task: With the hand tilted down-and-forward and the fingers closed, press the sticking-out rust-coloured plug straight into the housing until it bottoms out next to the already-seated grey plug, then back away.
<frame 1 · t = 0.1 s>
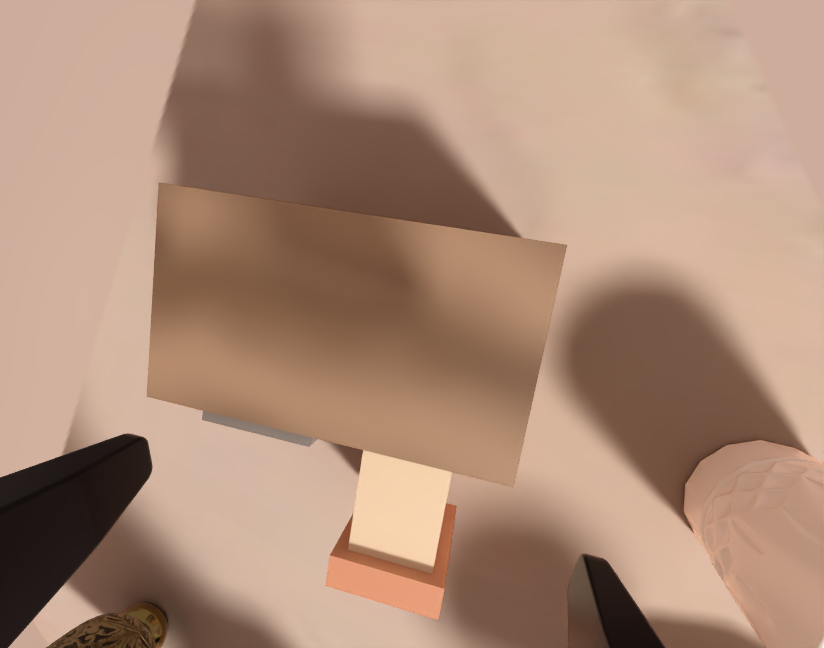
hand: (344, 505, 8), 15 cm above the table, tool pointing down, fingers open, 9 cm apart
housing: (393, 304, 23), on the table
cup: (153, 617, 30), on the table
plug: (412, 465, 20), point 4 cm above the table, slide at 6.0 cm
white cup: (751, 498, 22), on the table
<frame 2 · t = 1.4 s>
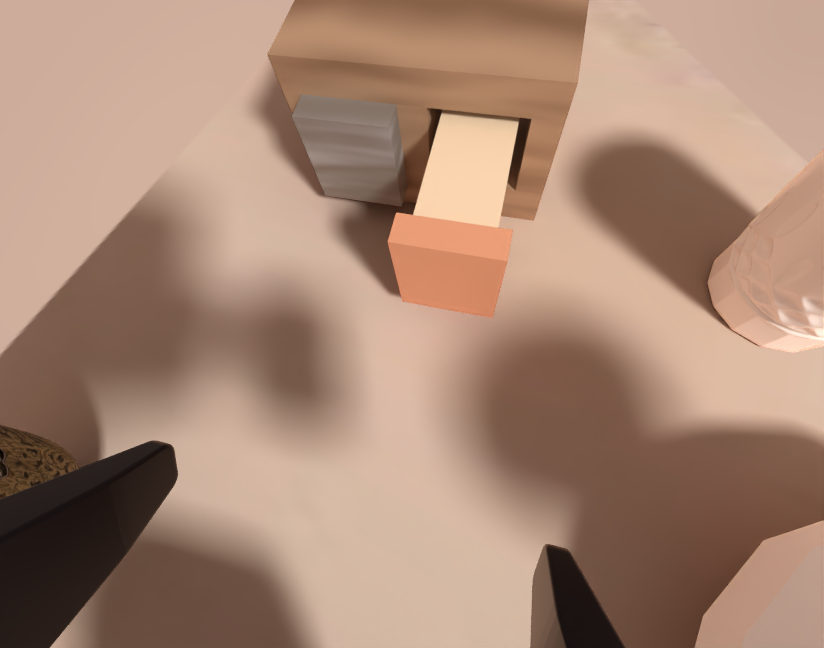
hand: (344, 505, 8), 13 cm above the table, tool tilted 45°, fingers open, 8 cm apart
housing: (437, 156, 28), on the table
cup: (73, 505, 22), on the table
plug: (465, 202, 21), point 4 cm above the table, slide at 6.0 cm
white cup: (769, 296, 23), on the table
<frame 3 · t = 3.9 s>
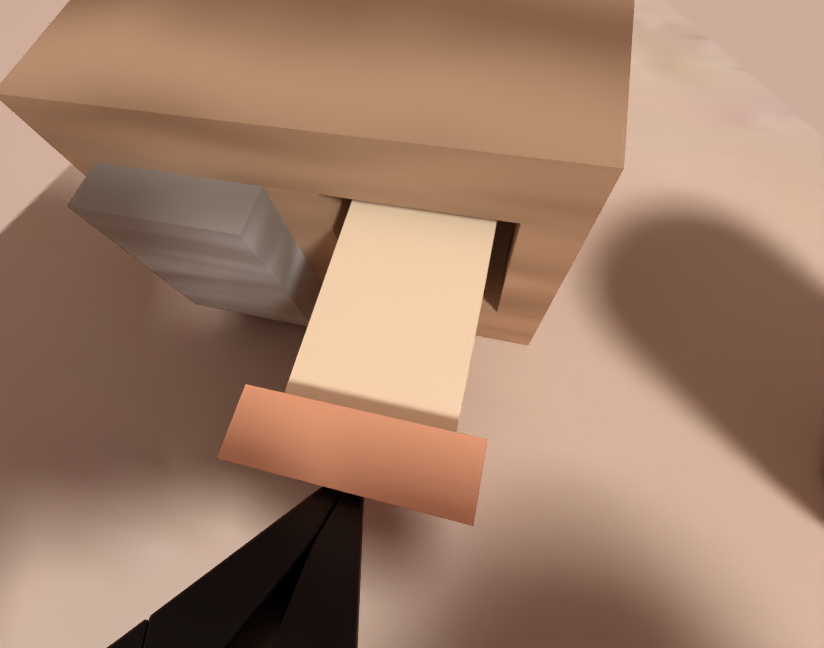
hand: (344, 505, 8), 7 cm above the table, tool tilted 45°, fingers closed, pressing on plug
housing: (382, 233, 19), on the table
plug: (411, 318, 12), point 5 cm above the table, slide at 4.8 cm, touching gripper
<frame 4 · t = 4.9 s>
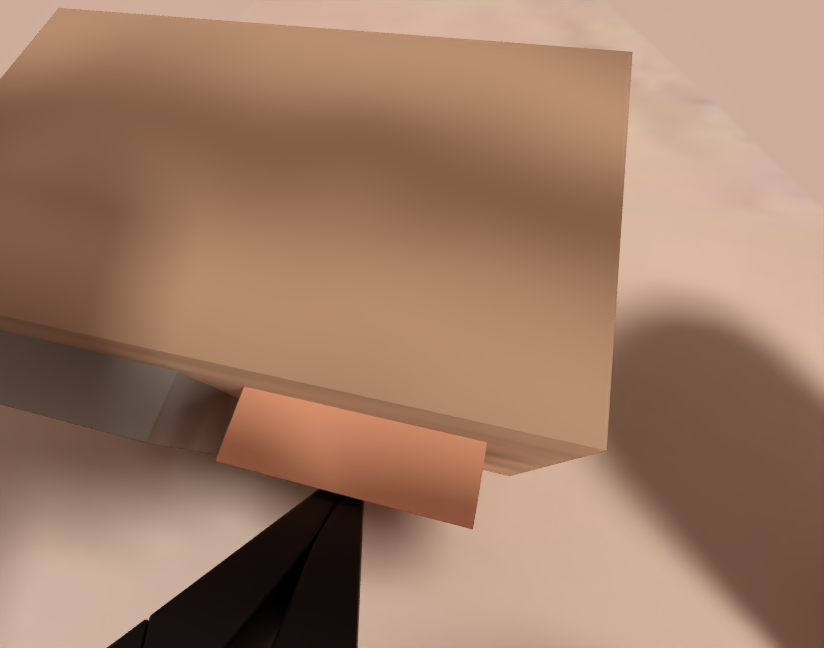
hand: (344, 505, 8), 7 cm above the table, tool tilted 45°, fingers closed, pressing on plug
housing: (351, 332, 17), on the table
plug: (411, 318, 12), point 4 cm above the table, slide at -0.1 cm, touching gripper, housing
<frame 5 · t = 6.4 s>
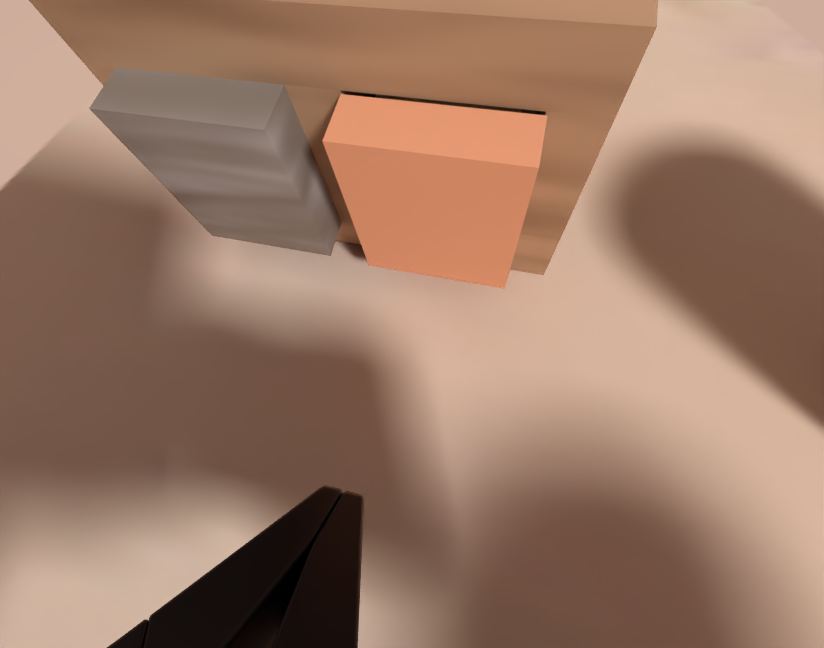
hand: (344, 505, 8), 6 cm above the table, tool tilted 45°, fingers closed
housing: (396, 170, 19), on the table
plug: (462, 106, 14), point 4 cm above the table, slide at 0.0 cm
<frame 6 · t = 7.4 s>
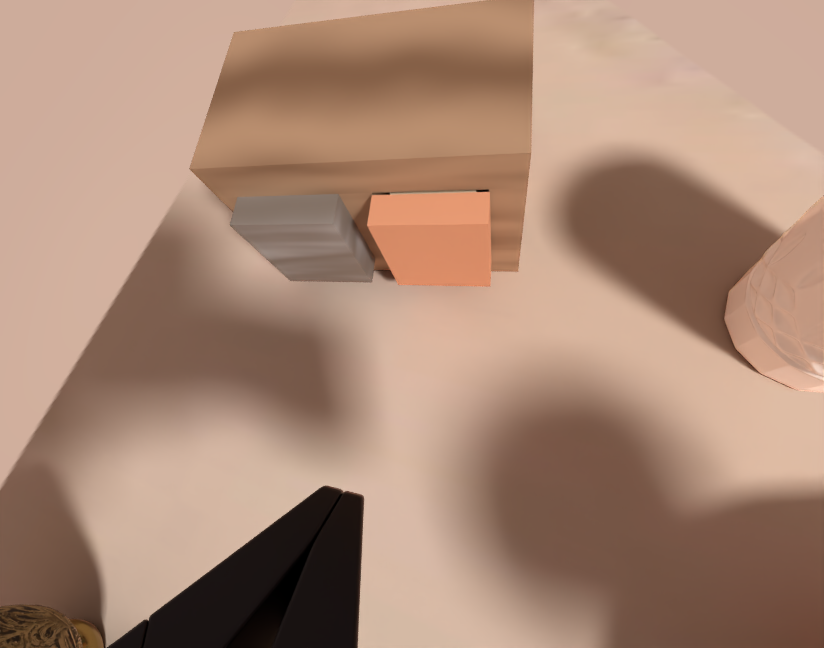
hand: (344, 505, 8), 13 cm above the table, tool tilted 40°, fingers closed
housing: (405, 212, 26), on the table
plug: (443, 174, 21), point 5 cm above the table, slide at 0.0 cm
white cup: (799, 325, 20), on the table
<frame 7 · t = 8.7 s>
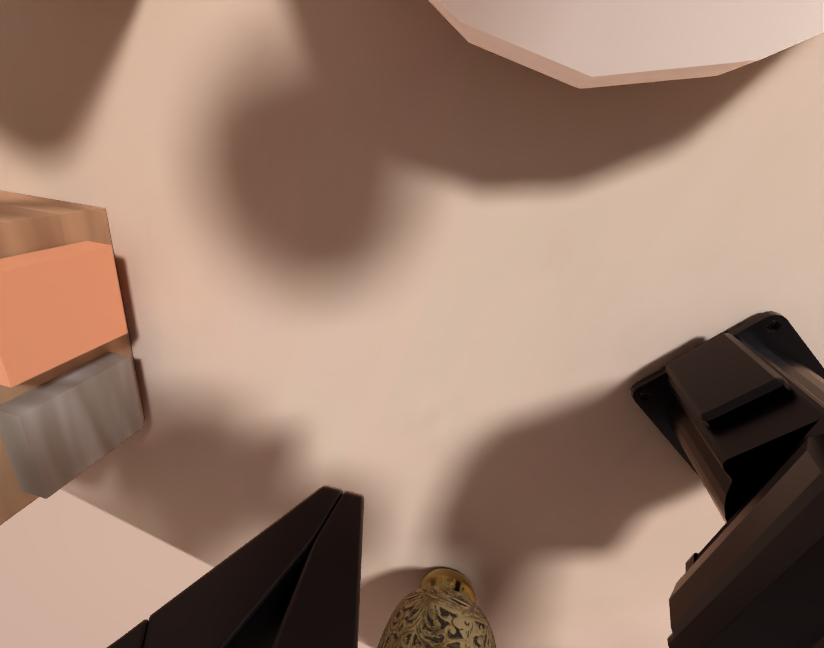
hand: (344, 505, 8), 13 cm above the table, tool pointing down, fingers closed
housing: (71, 314, 26), on the table
cup: (449, 580, 28), on the table
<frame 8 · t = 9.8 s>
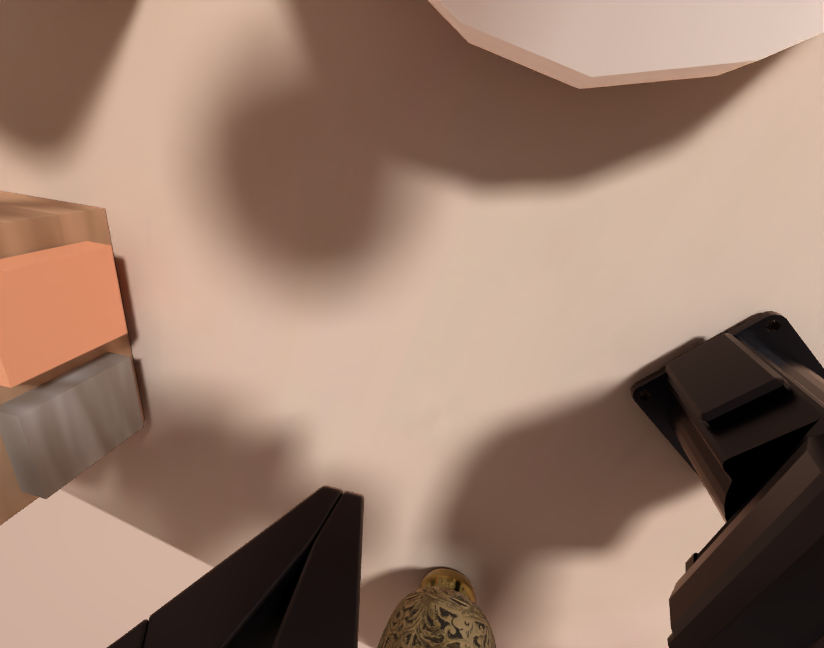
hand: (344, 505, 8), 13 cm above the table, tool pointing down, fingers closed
housing: (71, 314, 26), on the table
cup: (449, 580, 28), on the table
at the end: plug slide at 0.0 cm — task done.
